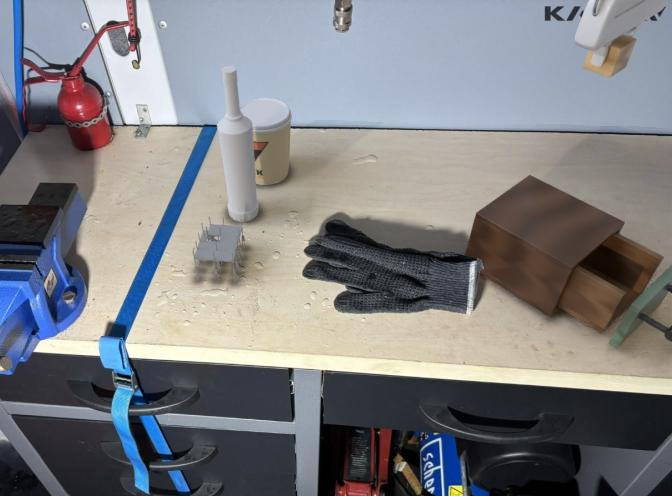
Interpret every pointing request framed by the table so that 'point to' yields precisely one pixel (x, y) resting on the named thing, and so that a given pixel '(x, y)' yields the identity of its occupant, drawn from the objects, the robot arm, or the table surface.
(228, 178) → the bottle
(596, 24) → the robot arm
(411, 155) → the table surface
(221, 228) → the building frame
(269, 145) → the beige lidded tub
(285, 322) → the table surface
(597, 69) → the block
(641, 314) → the drawer
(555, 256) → the cabinet
